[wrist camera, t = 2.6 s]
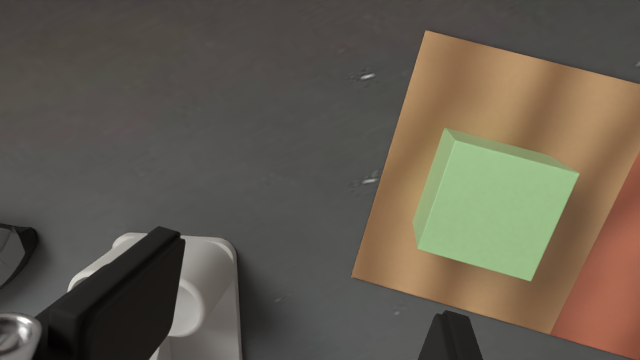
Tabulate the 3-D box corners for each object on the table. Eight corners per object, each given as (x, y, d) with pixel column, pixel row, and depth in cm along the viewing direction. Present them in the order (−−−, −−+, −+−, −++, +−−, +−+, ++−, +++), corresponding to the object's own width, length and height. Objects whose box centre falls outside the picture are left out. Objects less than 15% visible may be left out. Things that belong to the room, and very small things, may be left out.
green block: (550, 155, 28) (580, 173, 24) (509, 249, 30) (531, 282, 26) (444, 127, 28) (455, 139, 24) (412, 222, 30) (417, 249, 26)
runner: (925, 156, 25) (929, 157, 25) (758, 394, 31) (760, 396, 30) (425, 30, 27) (425, 30, 27) (351, 275, 32) (351, 276, 32)
